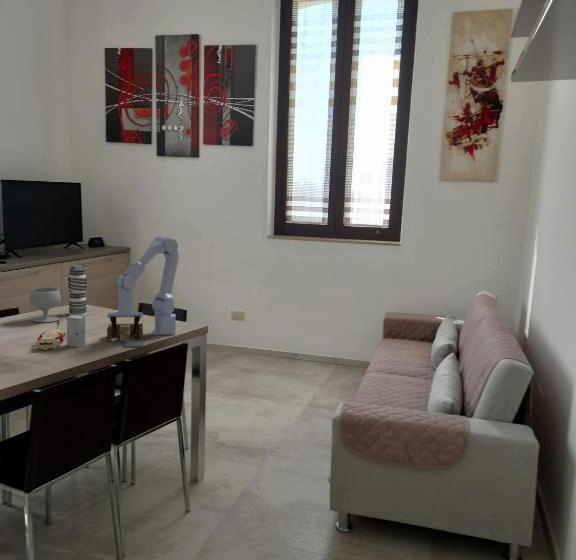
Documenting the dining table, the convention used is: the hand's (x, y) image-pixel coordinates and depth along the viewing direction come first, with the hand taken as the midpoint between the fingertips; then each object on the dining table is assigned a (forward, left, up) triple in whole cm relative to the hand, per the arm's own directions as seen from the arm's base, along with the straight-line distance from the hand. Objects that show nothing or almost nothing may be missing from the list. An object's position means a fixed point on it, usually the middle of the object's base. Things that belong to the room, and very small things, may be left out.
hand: (125, 333), depth 239 cm
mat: (-4, +9, -3) cm, 10 cm away
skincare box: (+19, +8, -3) cm, 21 cm away
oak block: (0, 0, -3) cm, 3 cm away
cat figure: (+29, +4, -3) cm, 29 cm away
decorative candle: (+26, -51, -3) cm, 57 cm away
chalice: (+39, -38, -3) cm, 55 cm away
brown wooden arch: (0, -1, -3) cm, 3 cm away
